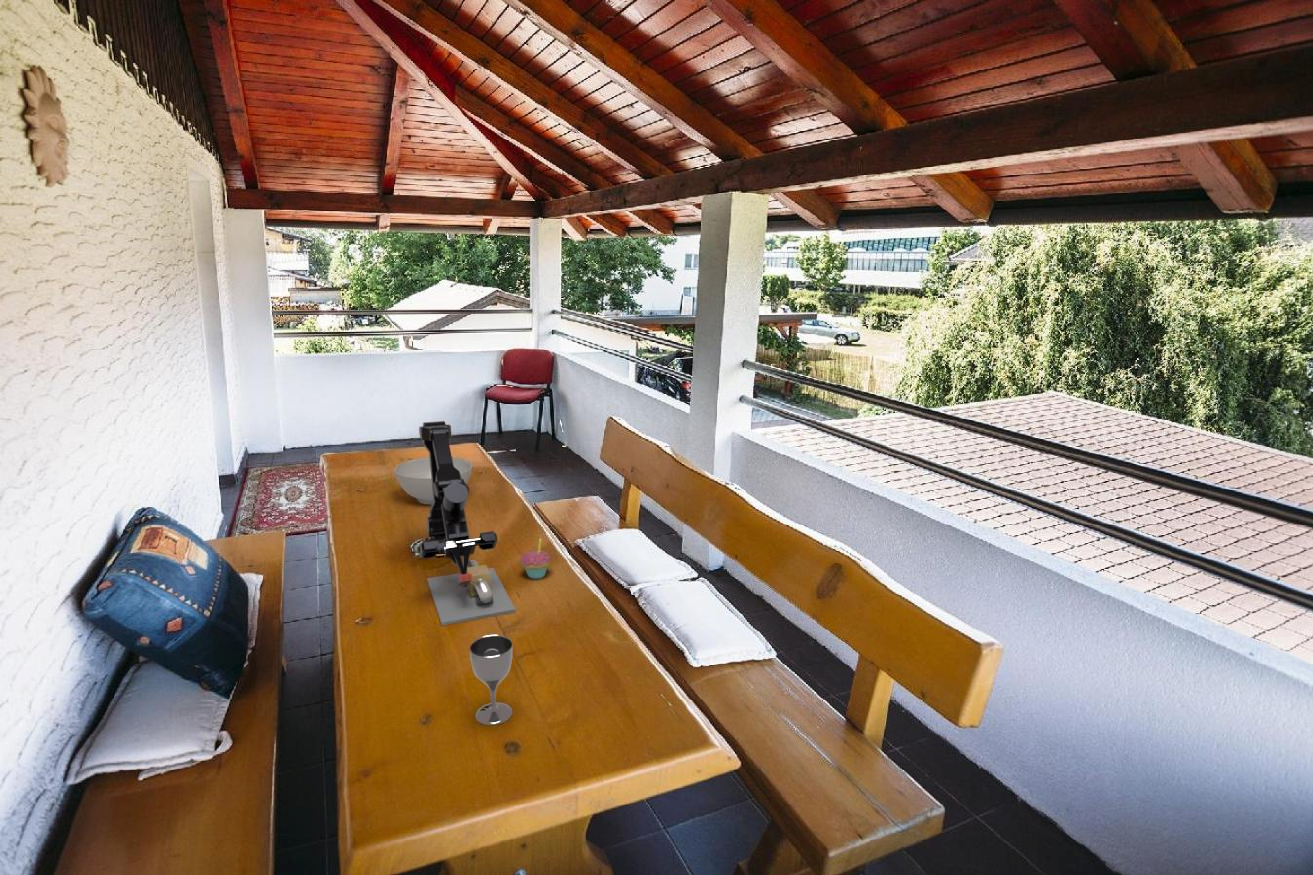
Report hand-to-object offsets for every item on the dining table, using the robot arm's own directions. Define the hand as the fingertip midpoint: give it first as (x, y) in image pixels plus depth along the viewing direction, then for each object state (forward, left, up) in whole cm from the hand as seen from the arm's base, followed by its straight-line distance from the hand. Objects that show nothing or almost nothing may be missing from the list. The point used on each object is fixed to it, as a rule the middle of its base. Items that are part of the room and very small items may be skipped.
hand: (464, 576), depth 181 cm
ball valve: (-6, -4, -9) cm, 11 cm away
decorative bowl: (-27, -81, -9) cm, 86 cm away
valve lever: (-2, -7, -5) cm, 9 cm away
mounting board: (-3, -5, -9) cm, 11 cm away
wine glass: (+14, +44, -9) cm, 47 cm away
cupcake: (-24, -5, -9) cm, 26 cm away
